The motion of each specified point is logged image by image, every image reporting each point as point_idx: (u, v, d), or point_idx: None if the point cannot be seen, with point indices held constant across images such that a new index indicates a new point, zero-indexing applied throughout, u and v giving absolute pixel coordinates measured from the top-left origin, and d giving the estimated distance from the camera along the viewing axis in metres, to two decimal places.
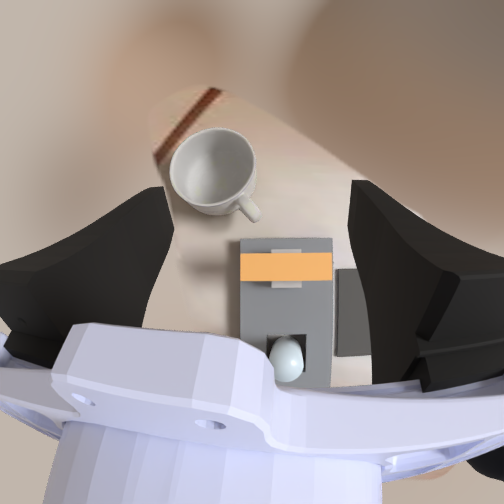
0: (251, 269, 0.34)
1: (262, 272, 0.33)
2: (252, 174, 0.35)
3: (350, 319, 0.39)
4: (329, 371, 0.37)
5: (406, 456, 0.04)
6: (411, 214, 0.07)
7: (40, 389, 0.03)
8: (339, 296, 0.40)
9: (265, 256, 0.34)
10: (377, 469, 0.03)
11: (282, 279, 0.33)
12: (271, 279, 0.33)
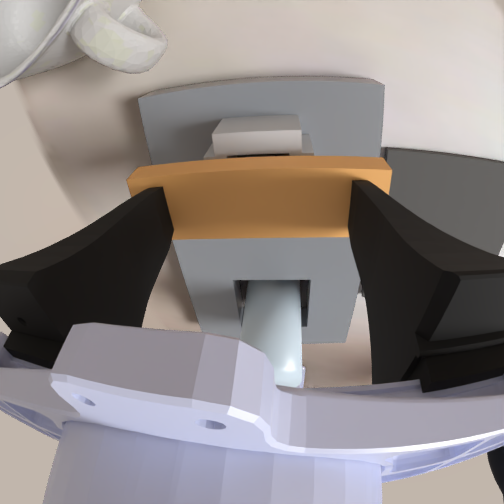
0: None
1: (193, 220, 0.12)
2: None
3: None
4: (347, 325, 0.23)
5: (406, 456, 0.04)
6: (411, 214, 0.07)
7: (40, 389, 0.03)
8: None
9: (193, 181, 0.11)
10: (377, 469, 0.03)
11: (248, 235, 0.12)
12: (219, 236, 0.12)
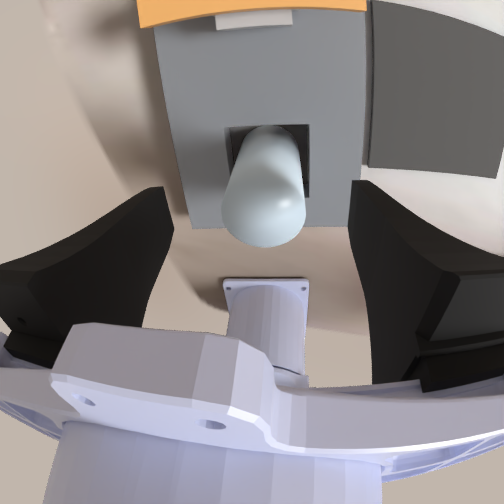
0: None
1: None
2: None
3: (397, 99, 0.16)
4: None
5: (406, 456, 0.04)
6: (411, 214, 0.07)
7: (40, 389, 0.03)
8: (375, 51, 0.15)
9: None
10: (377, 469, 0.03)
11: (239, 6, 0.10)
12: (211, 10, 0.10)
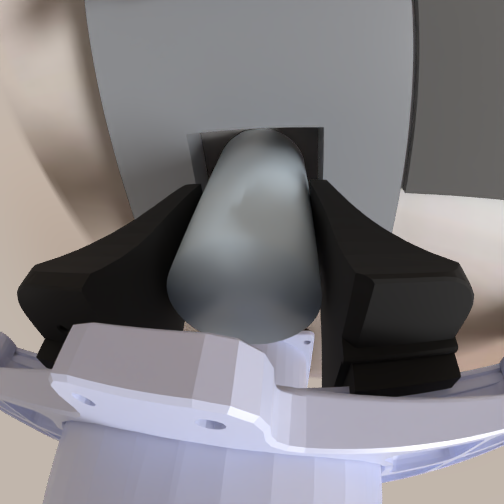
0: None
1: None
2: None
3: (449, 95, 0.10)
4: None
5: (406, 456, 0.04)
6: (358, 213, 0.08)
7: (40, 389, 0.03)
8: (420, 22, 0.08)
9: None
10: (377, 469, 0.03)
11: None
12: None
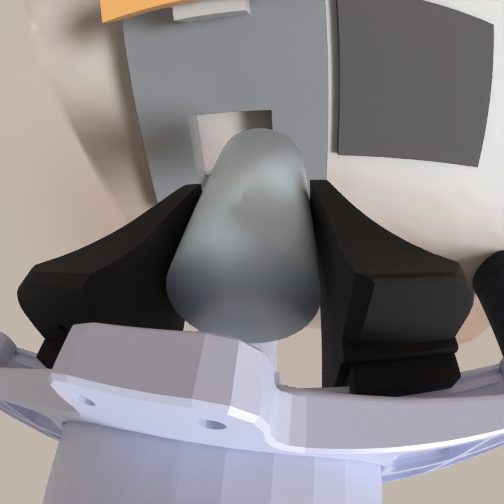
0: None
1: None
2: None
3: (365, 84, 0.16)
4: None
5: (406, 456, 0.04)
6: (358, 213, 0.08)
7: (40, 389, 0.03)
8: (341, 36, 0.15)
9: None
10: (377, 469, 0.03)
11: None
12: (164, 1, 0.10)
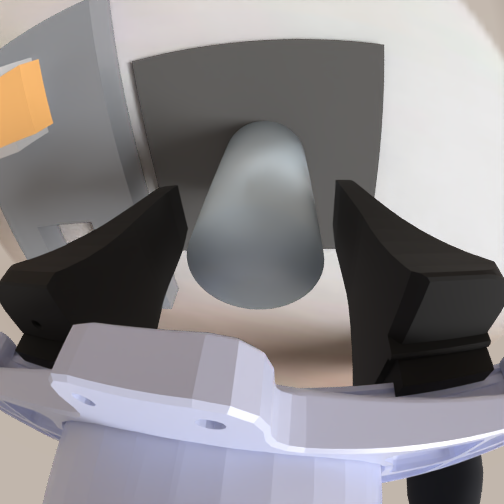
0: None
1: None
2: None
3: (184, 176, 0.16)
4: None
5: (406, 456, 0.04)
6: (391, 214, 0.07)
7: (40, 389, 0.03)
8: (147, 125, 0.14)
9: None
10: (377, 469, 0.03)
11: None
12: None
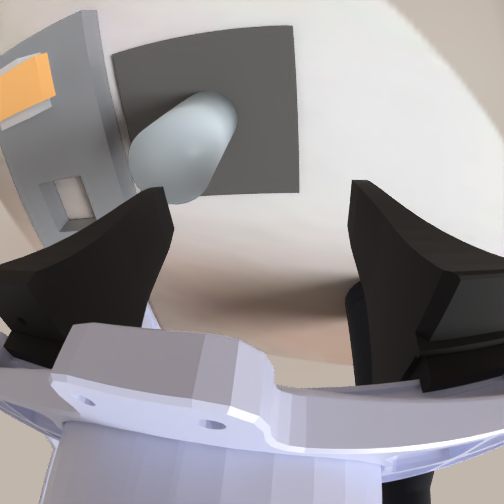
0: None
1: None
2: None
3: None
4: None
5: (406, 456, 0.04)
6: (411, 214, 0.07)
7: (40, 389, 0.03)
8: (123, 100, 0.18)
9: None
10: (377, 469, 0.03)
11: None
12: None
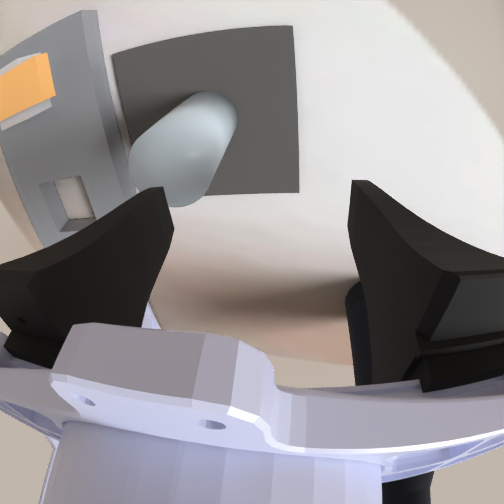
0: None
1: None
2: None
3: None
4: None
5: (406, 456, 0.04)
6: (411, 214, 0.07)
7: (40, 389, 0.03)
8: (123, 100, 0.18)
9: None
10: (377, 469, 0.03)
11: None
12: None
